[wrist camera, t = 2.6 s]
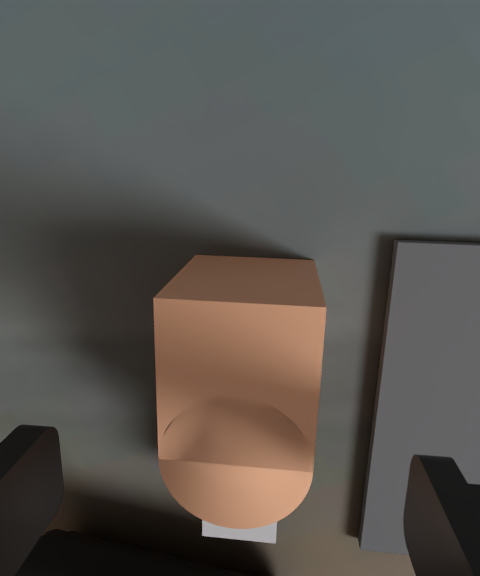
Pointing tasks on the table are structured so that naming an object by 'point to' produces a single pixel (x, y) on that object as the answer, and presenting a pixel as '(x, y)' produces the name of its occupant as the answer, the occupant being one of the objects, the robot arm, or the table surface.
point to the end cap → (106, 559)
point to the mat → (423, 380)
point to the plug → (239, 389)
